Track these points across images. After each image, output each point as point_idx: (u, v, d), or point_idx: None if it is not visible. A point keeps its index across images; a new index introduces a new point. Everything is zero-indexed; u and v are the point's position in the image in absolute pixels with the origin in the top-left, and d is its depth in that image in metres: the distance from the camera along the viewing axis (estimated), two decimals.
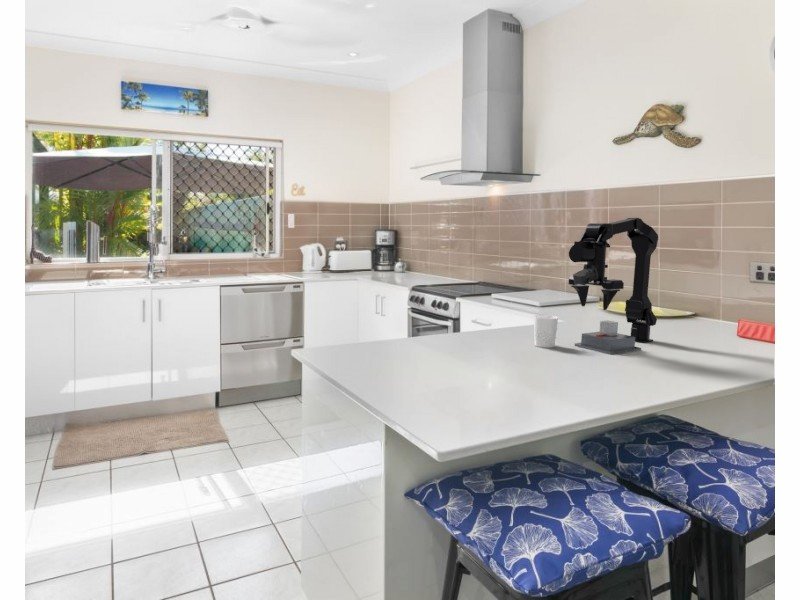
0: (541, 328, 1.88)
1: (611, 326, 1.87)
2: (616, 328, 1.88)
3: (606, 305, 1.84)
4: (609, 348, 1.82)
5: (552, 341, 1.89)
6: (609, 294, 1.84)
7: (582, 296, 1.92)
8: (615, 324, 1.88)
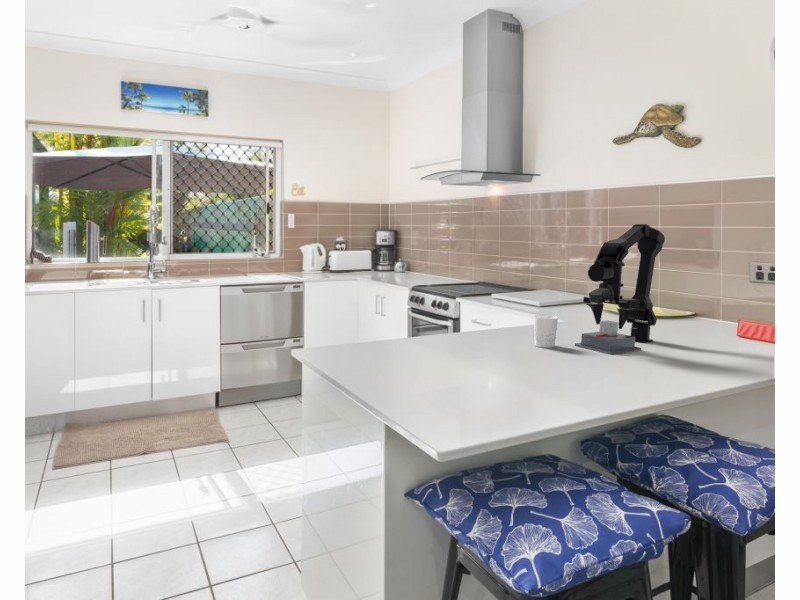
0: (541, 328, 1.88)
1: (611, 326, 1.87)
2: (616, 328, 1.88)
3: (622, 324, 1.85)
4: (609, 348, 1.82)
5: (552, 341, 1.89)
6: (625, 313, 1.84)
7: (597, 314, 1.93)
8: (615, 324, 1.88)
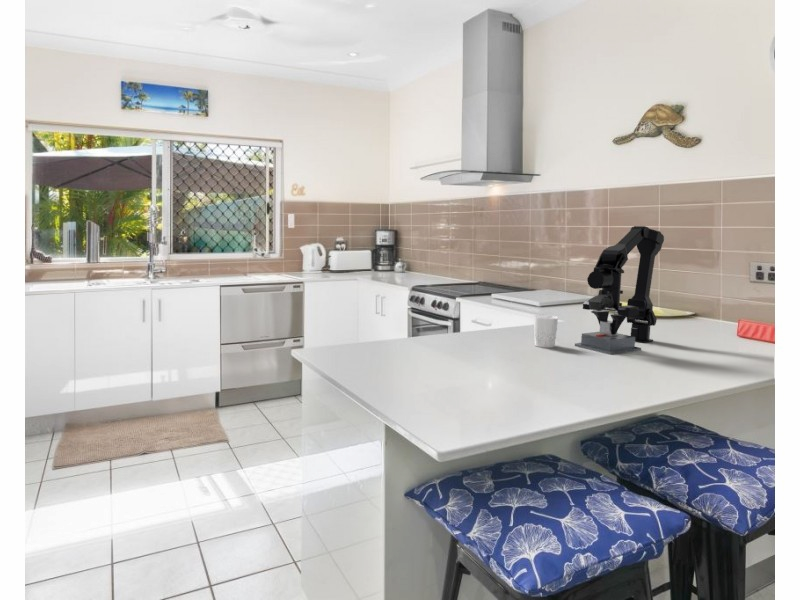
0: (541, 328, 1.88)
1: (611, 326, 1.87)
2: None
3: (615, 330, 1.87)
4: (609, 348, 1.82)
5: (552, 341, 1.89)
6: (618, 319, 1.86)
7: None
8: None
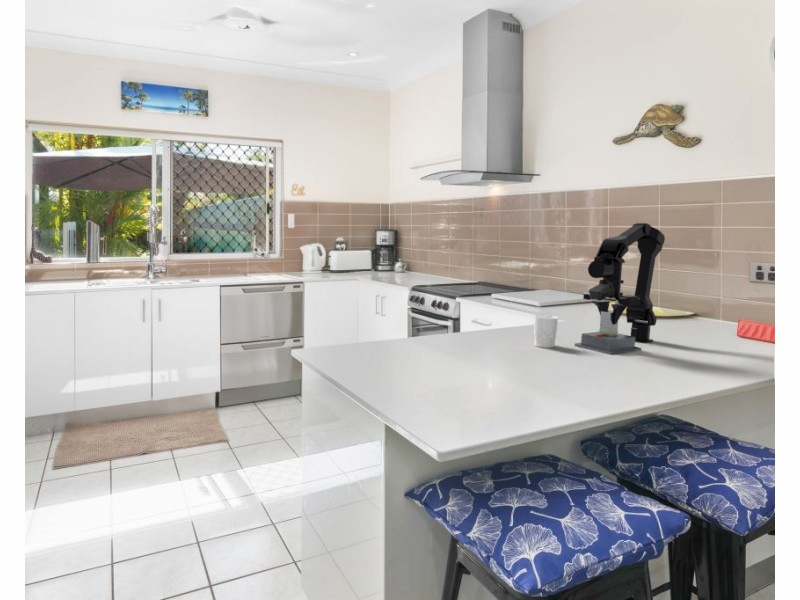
0: (541, 328, 1.88)
1: (612, 316, 1.87)
2: None
3: (616, 320, 1.87)
4: (609, 348, 1.82)
5: (552, 341, 1.89)
6: (619, 309, 1.86)
7: None
8: None
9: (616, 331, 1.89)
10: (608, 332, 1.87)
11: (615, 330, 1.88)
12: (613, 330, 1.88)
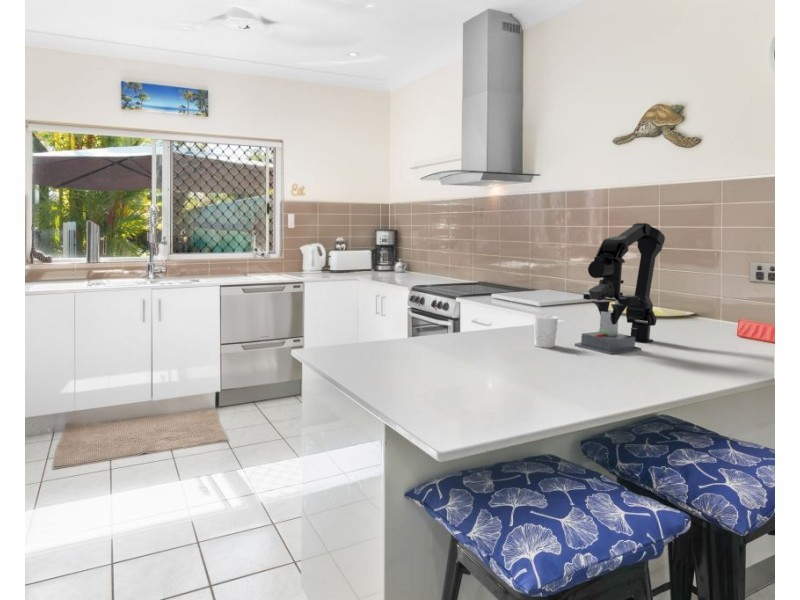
0: (541, 328, 1.88)
1: (612, 316, 1.87)
2: None
3: (615, 319, 1.87)
4: (609, 348, 1.82)
5: (552, 341, 1.89)
6: (619, 309, 1.86)
7: None
8: None
9: (616, 331, 1.89)
10: (608, 332, 1.87)
11: (615, 330, 1.88)
12: (613, 330, 1.88)
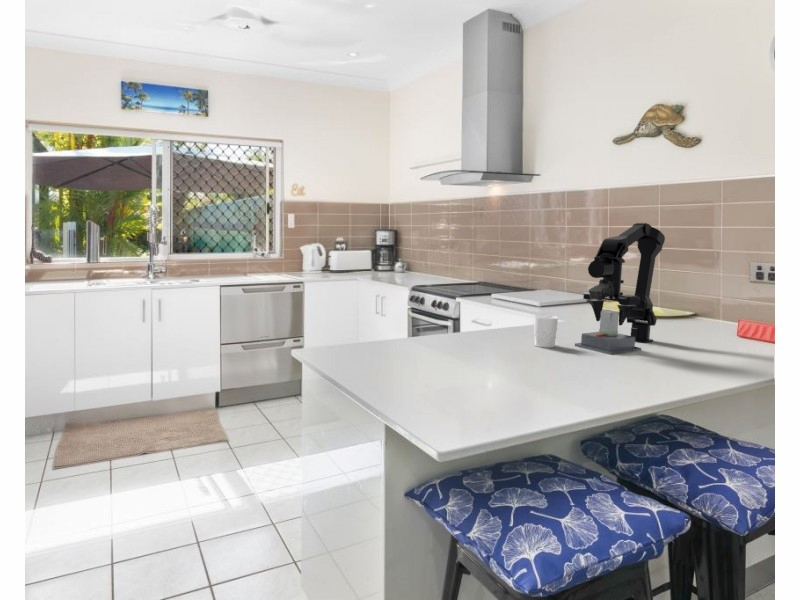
0: (541, 328, 1.88)
1: (612, 316, 1.87)
2: (616, 317, 1.88)
3: (622, 320, 1.85)
4: (609, 348, 1.82)
5: (552, 341, 1.89)
6: (625, 310, 1.84)
7: (597, 311, 1.93)
8: (616, 314, 1.88)
9: (616, 331, 1.89)
10: (608, 332, 1.87)
11: (615, 330, 1.88)
12: (613, 330, 1.88)
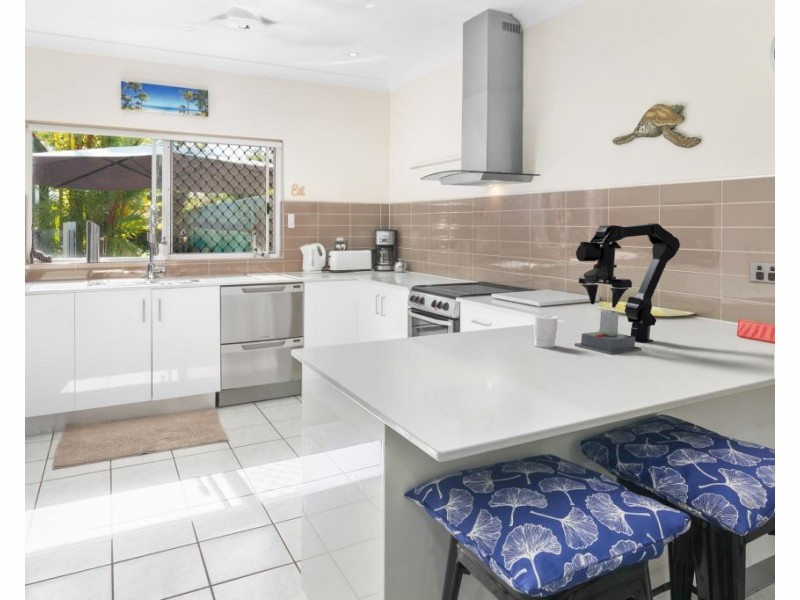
0: (541, 328, 1.88)
1: (612, 316, 1.87)
2: (616, 317, 1.88)
3: (615, 303, 1.94)
4: (609, 348, 1.82)
5: (552, 341, 1.89)
6: (618, 292, 1.93)
7: (591, 294, 2.02)
8: (616, 314, 1.88)
9: (616, 331, 1.89)
10: (608, 332, 1.87)
11: (615, 330, 1.88)
12: (613, 330, 1.88)
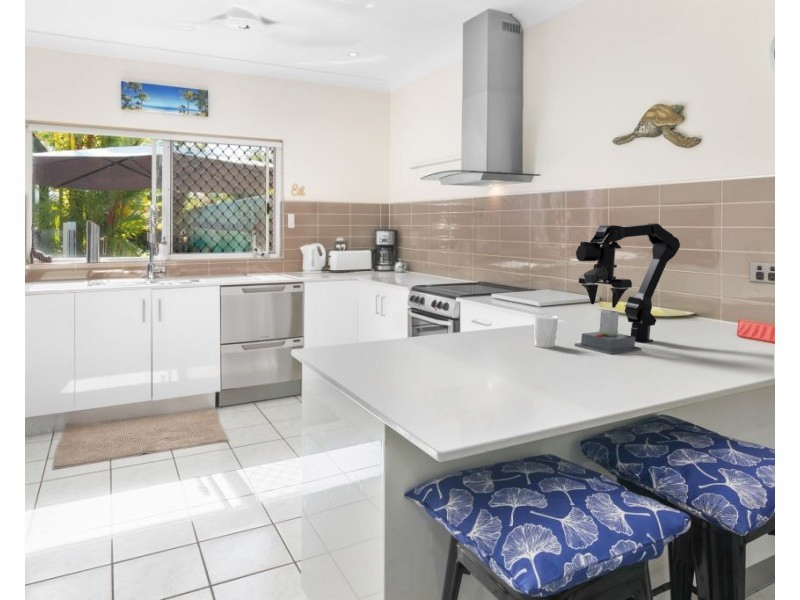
0: (541, 328, 1.88)
1: (612, 316, 1.87)
2: (616, 317, 1.88)
3: (615, 303, 1.94)
4: (609, 348, 1.82)
5: (552, 341, 1.89)
6: (618, 292, 1.93)
7: (591, 294, 2.02)
8: (616, 314, 1.88)
9: (616, 331, 1.89)
10: (608, 332, 1.87)
11: (615, 330, 1.88)
12: (613, 330, 1.88)
